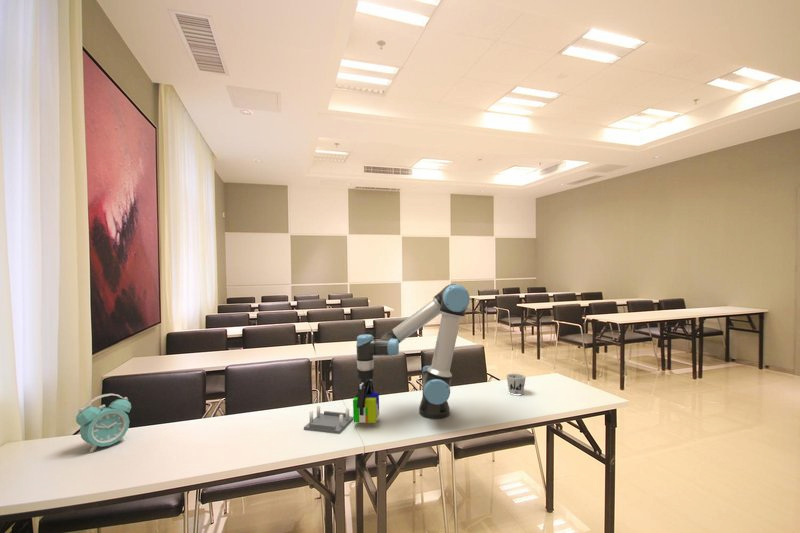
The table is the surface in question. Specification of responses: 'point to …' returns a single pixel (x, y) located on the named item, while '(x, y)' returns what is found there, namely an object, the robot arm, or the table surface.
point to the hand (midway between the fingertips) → (366, 417)
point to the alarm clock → (104, 422)
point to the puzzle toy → (367, 408)
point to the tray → (329, 421)
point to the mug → (516, 383)
